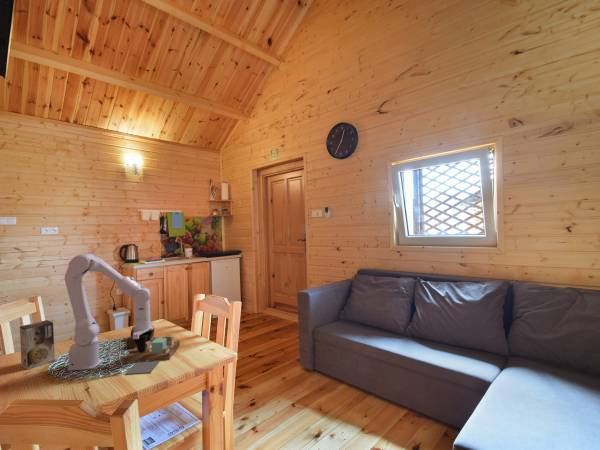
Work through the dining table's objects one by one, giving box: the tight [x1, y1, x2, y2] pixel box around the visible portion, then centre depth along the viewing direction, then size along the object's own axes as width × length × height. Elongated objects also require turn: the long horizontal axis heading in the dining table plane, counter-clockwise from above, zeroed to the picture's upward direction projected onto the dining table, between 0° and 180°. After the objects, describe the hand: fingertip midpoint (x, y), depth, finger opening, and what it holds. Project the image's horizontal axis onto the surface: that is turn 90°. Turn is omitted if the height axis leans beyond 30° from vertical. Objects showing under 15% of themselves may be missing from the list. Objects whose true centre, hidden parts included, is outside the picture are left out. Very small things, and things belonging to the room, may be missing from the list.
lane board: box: [121, 340, 181, 364], centre depth 130 cm, size 18×14×2 cm
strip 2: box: [150, 334, 175, 349], centre depth 134 cm, size 11×4×5 cm, turn 95°
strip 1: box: [137, 340, 170, 355], centre depth 127 cm, size 12×4×5 cm, turn 95°
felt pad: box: [124, 360, 160, 376], centre depth 117 cm, size 9×9×1 cm
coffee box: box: [19, 319, 56, 370], centre depth 124 cm, size 9×6×16 cm
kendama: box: [125, 325, 155, 349], centre depth 146 cm, size 6×10×20 cm
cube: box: [150, 338, 167, 354], centre depth 127 cm, size 4×4×4 cm
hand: (143, 350), depth 127 cm, fingers open, 3 cm apart
